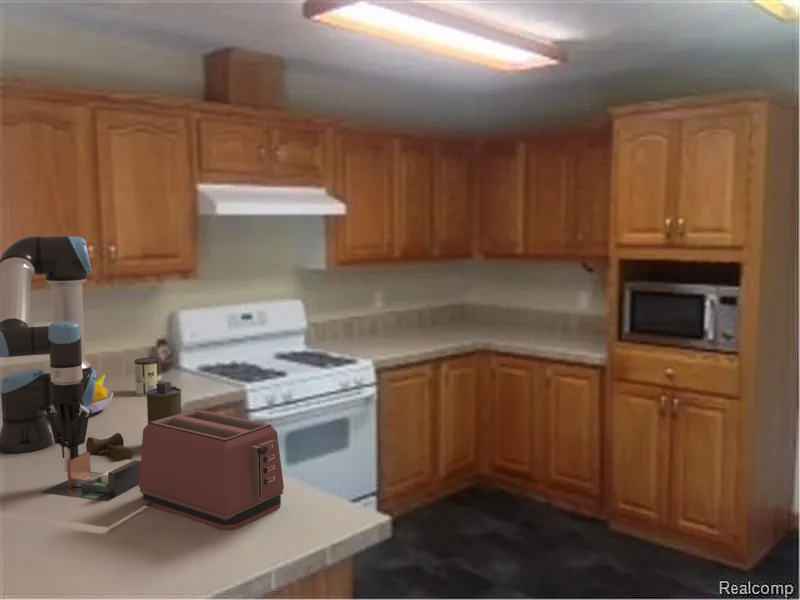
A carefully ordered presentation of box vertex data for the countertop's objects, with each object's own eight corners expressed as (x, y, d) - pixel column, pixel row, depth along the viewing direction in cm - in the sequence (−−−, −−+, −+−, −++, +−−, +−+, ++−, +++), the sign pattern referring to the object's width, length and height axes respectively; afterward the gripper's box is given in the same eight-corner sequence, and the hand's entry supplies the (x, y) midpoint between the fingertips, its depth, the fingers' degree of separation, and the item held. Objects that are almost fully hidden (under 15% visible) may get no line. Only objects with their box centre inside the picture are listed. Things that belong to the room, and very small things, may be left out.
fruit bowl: (58, 427, 239) (57, 395, 238) (20, 414, 255) (19, 384, 254) (133, 410, 261) (132, 380, 260) (94, 399, 277) (93, 371, 276)
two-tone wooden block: (68, 487, 181) (66, 460, 180) (87, 477, 187) (86, 451, 187) (89, 489, 179) (88, 462, 178) (108, 480, 186) (107, 454, 185)
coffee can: (151, 389, 295) (150, 356, 293) (167, 392, 289) (166, 358, 288) (130, 394, 286) (128, 360, 285) (146, 397, 281) (145, 362, 279)
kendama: (108, 469, 199) (80, 452, 213) (141, 462, 206) (112, 446, 220) (108, 449, 199) (80, 432, 213) (141, 442, 206) (112, 427, 220)
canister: (172, 451, 213) (170, 387, 211) (141, 449, 216) (138, 385, 213) (190, 441, 224) (188, 379, 222) (160, 439, 226) (157, 377, 224)
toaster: (235, 535, 156) (233, 446, 154) (137, 503, 174) (134, 422, 172) (292, 507, 172) (291, 425, 170) (197, 479, 190) (195, 405, 188)
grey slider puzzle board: (41, 496, 178) (39, 469, 177) (86, 475, 193) (85, 450, 192) (107, 506, 172) (106, 477, 171) (149, 483, 187) (148, 457, 186)
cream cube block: (101, 489, 180) (101, 474, 179) (112, 484, 183) (111, 469, 183) (115, 491, 178) (114, 476, 178) (125, 486, 182) (124, 470, 182)
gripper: (35, 383, 180) (39, 472, 183) (77, 386, 176) (81, 478, 179) (57, 377, 187) (61, 463, 190) (98, 380, 184) (101, 468, 186)
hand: (71, 470), depth 184 cm, fingers closed
